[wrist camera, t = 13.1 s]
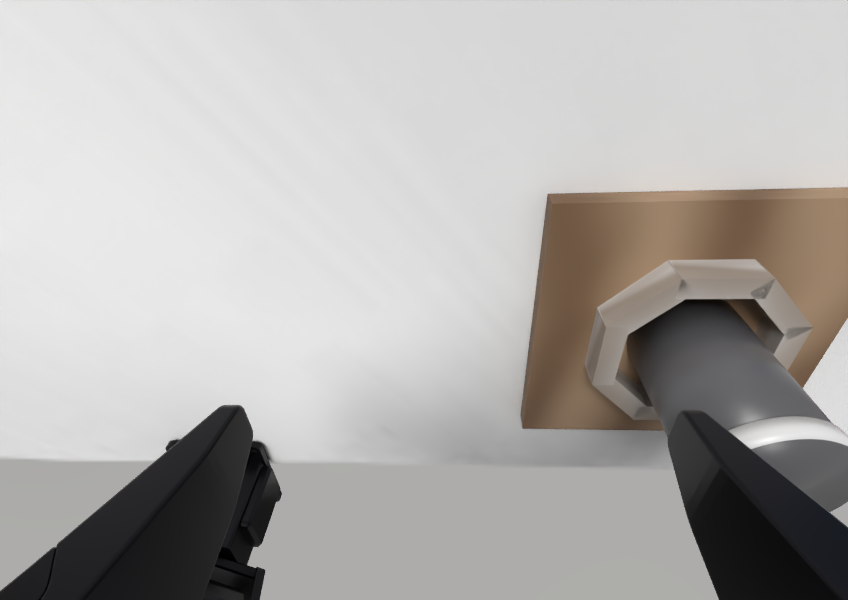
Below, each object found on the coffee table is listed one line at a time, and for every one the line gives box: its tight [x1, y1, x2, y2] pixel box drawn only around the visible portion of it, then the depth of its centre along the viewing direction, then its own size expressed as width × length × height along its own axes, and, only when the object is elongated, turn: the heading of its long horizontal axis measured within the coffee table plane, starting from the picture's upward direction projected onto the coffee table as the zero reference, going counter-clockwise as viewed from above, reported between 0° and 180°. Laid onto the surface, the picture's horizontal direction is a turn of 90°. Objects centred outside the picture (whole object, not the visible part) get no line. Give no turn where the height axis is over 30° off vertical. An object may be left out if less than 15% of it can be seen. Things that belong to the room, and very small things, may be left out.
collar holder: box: [521, 188, 848, 430], centre depth 21 cm, size 14×14×2 cm
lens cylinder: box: [627, 299, 848, 512], centre depth 18 cm, size 5×5×8 cm
